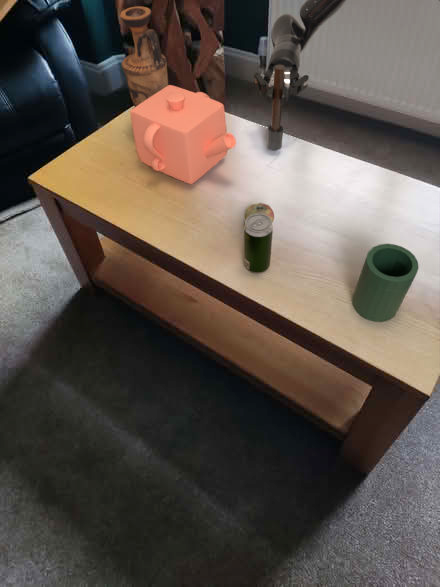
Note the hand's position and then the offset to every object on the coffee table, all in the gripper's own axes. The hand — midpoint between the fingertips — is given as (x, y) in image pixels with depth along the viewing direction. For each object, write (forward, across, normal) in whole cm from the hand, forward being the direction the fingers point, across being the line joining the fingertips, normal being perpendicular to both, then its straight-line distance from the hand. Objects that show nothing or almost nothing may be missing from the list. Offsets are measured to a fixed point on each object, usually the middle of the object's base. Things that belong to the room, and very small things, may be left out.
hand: (276, 100), depth 98 cm
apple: (+26, 0, +16) cm, 30 cm away
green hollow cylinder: (+43, +24, +15) cm, 51 cm away
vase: (-7, -33, +16) cm, 37 cm away
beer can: (+37, +1, +16) cm, 40 cm away
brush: (-3, 0, +14) cm, 14 cm away
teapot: (+7, -19, +16) cm, 26 cm away
